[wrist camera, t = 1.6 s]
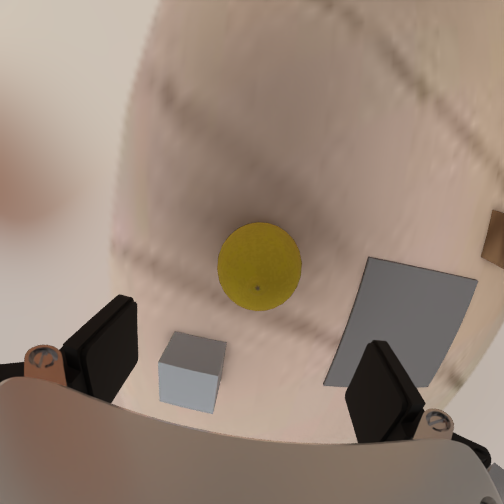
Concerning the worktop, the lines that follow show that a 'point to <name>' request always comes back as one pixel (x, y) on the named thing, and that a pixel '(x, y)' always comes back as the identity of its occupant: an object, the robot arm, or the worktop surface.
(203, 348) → the slate block
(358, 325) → the mat
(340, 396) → the worktop surface
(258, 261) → the lemon
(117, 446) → the robot arm
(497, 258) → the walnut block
